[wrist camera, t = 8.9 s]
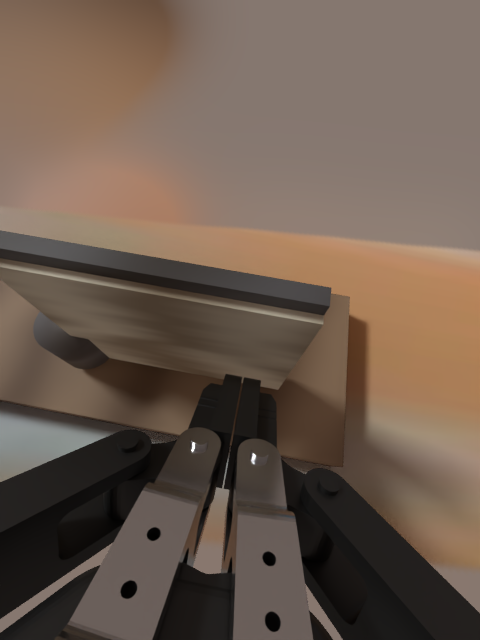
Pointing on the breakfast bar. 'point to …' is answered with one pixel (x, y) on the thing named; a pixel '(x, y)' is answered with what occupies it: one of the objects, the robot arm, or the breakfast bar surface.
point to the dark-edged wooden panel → (161, 310)
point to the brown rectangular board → (178, 385)
